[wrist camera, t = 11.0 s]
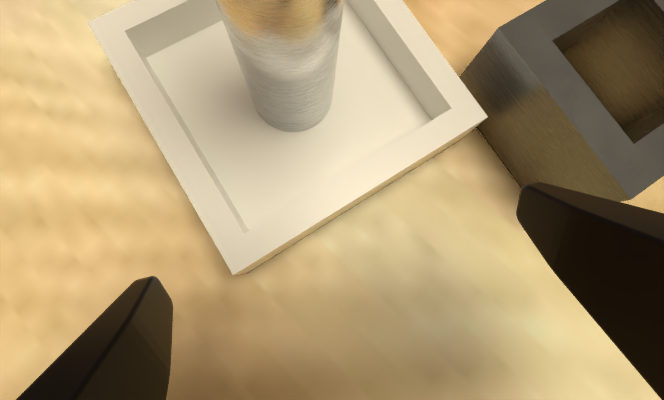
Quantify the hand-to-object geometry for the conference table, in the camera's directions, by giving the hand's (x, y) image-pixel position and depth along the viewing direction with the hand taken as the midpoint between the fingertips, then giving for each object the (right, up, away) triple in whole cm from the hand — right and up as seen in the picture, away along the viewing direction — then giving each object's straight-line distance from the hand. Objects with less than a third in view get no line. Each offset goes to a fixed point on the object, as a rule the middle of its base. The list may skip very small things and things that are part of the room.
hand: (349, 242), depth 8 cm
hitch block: (+12, +6, +11) cm, 17 cm away
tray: (-3, +6, +10) cm, 12 cm away
